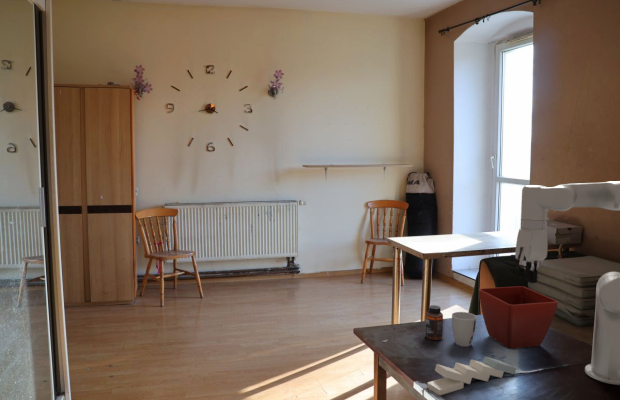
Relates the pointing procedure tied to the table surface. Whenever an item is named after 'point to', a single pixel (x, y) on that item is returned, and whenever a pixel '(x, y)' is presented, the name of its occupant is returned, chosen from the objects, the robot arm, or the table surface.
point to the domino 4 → (485, 368)
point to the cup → (463, 327)
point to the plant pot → (517, 315)
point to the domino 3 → (471, 372)
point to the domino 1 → (452, 374)
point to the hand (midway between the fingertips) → (530, 281)
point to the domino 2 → (444, 385)
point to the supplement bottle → (434, 323)
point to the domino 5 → (499, 365)
